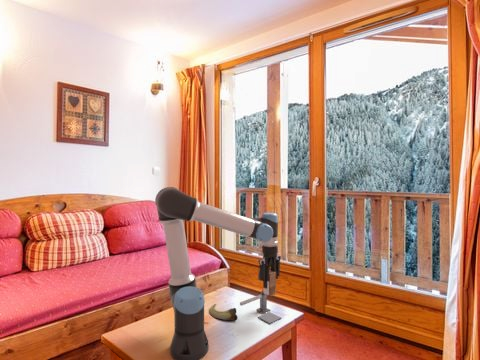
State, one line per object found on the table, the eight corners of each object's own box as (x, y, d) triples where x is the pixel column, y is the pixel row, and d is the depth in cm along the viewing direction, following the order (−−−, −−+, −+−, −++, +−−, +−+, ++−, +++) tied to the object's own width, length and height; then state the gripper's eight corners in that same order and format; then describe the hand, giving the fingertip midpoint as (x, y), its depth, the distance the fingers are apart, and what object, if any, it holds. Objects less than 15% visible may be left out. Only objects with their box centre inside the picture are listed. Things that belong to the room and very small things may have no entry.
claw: (244, 316, 146) (243, 310, 146) (230, 325, 138) (230, 318, 138) (215, 306, 158) (214, 300, 158) (201, 313, 150) (200, 307, 150)
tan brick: (275, 294, 144) (275, 272, 143) (270, 296, 141) (270, 274, 141) (263, 289, 150) (263, 268, 149) (258, 291, 147) (258, 269, 146)
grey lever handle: (244, 322, 140) (244, 301, 140) (237, 318, 144) (237, 297, 143) (270, 310, 152) (270, 291, 152) (263, 307, 156) (263, 288, 155)
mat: (270, 324, 138) (270, 323, 138) (257, 317, 144) (257, 316, 144) (281, 318, 144) (281, 317, 144) (269, 312, 150) (269, 311, 150)
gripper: (263, 249, 135) (263, 300, 135) (287, 243, 146) (287, 290, 147) (251, 246, 140) (251, 295, 141) (275, 240, 152) (275, 286, 152)
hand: (269, 292), depth 144 cm, fingers closed on tan brick, 4 cm apart
